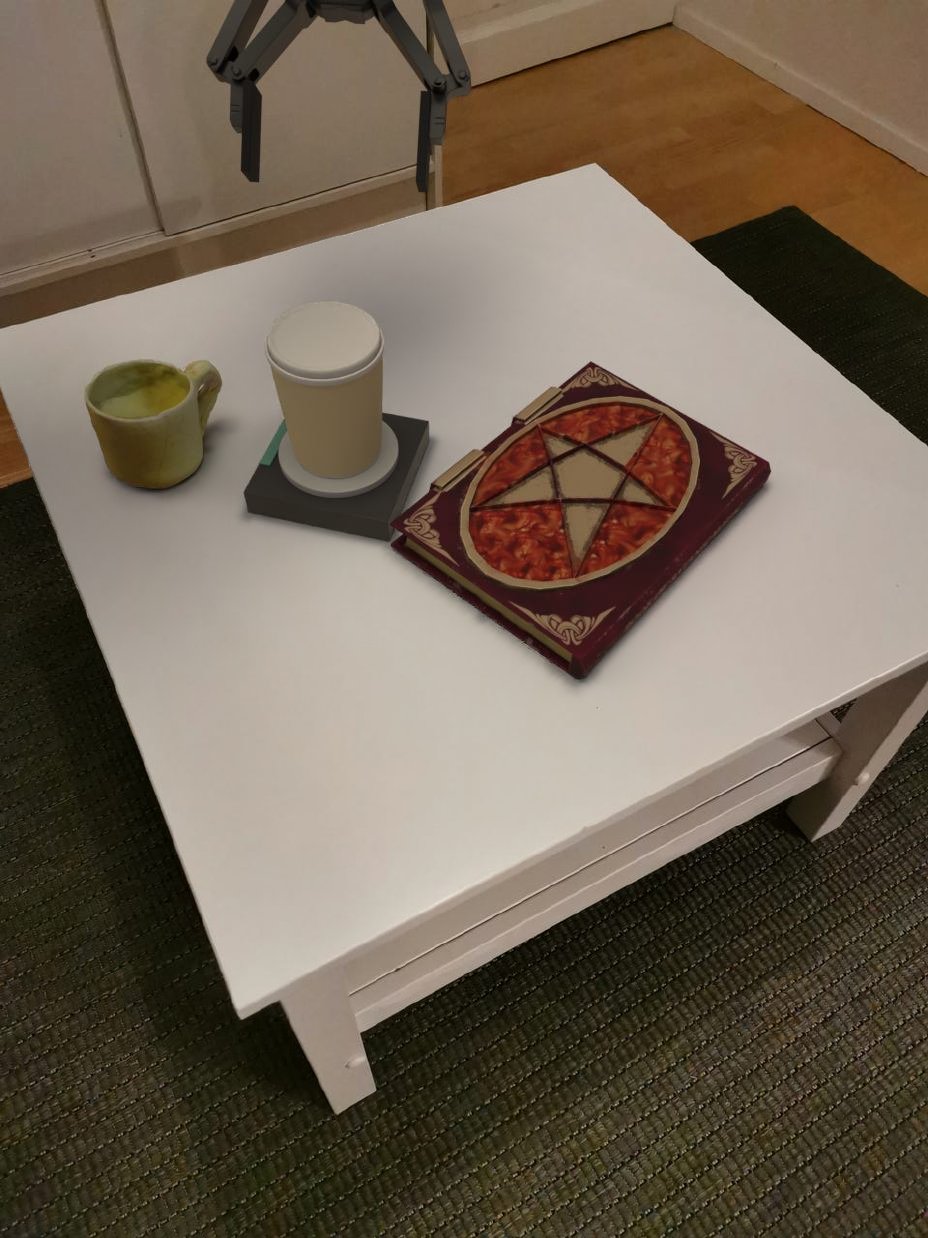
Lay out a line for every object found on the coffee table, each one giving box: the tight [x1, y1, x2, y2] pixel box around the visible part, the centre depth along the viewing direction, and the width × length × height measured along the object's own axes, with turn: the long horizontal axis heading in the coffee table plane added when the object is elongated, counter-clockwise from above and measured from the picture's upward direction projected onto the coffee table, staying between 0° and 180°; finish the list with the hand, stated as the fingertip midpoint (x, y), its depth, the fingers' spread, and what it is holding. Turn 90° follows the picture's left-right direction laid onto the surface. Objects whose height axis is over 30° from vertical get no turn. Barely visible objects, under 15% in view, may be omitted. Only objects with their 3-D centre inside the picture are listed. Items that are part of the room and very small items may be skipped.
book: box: [390, 360, 772, 679], centre depth 80 cm, size 28×21×5 cm
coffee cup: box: [264, 300, 385, 479], centre depth 76 cm, size 9×9×12 cm
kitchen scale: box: [243, 411, 430, 542], centre depth 82 cm, size 13×13×3 cm
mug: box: [83, 358, 223, 490], centre depth 82 cm, size 12×10×10 cm
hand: (335, 182), depth 72 cm, fingers open, 13 cm apart
